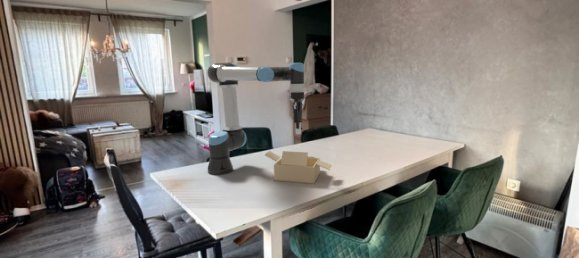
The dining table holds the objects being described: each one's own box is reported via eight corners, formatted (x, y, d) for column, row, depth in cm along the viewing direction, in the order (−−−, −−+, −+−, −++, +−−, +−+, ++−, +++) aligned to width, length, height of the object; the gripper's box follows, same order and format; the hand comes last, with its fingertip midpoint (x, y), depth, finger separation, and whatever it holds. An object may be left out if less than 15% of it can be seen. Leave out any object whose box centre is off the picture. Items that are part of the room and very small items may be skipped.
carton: (274, 180, 172) (273, 164, 170) (284, 170, 189) (283, 156, 187) (313, 183, 166) (313, 167, 164) (320, 173, 183) (320, 158, 181)
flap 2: (280, 164, 169) (280, 164, 169) (283, 151, 172) (282, 151, 172) (306, 166, 165) (305, 165, 165) (307, 152, 168) (307, 152, 168)
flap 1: (276, 160, 175) (275, 161, 175) (280, 157, 182) (280, 157, 183) (264, 154, 176) (264, 154, 176) (269, 150, 184) (269, 151, 184)
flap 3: (293, 156, 194) (293, 157, 194) (290, 155, 187) (290, 156, 187) (315, 157, 190) (315, 158, 190) (313, 156, 183) (313, 157, 183)
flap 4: (329, 169, 167) (329, 170, 167) (331, 165, 175) (331, 165, 175) (316, 163, 169) (316, 164, 169) (319, 159, 176) (319, 160, 176)
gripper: (301, 92, 163) (301, 136, 167) (306, 90, 175) (307, 132, 180) (287, 92, 165) (288, 136, 170) (294, 90, 178) (294, 131, 182)
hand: (298, 134), depth 175 cm, fingers closed
